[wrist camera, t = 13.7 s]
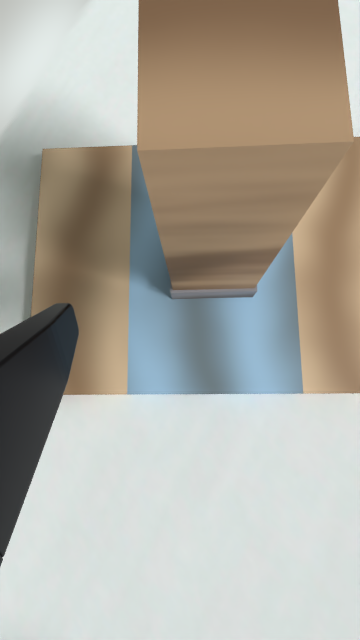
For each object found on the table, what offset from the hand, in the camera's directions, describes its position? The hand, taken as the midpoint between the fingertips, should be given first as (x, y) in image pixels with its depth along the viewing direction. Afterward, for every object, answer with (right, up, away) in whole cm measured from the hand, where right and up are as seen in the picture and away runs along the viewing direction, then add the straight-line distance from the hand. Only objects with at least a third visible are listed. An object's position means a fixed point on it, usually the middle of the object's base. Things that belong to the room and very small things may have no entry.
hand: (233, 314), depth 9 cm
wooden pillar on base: (0, +4, +11) cm, 12 cm away
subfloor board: (0, +3, +12) cm, 13 cm away
